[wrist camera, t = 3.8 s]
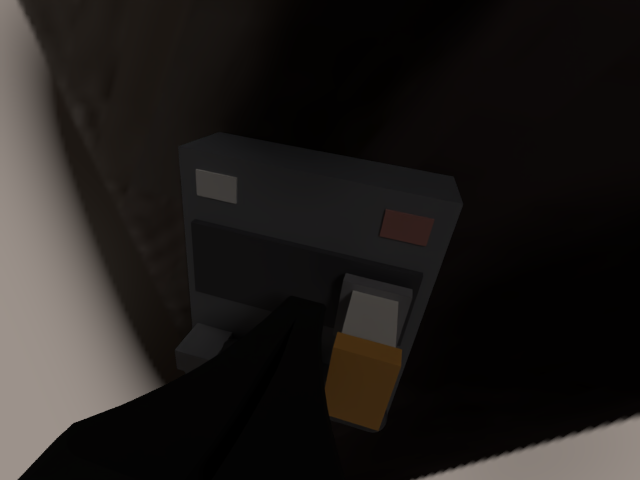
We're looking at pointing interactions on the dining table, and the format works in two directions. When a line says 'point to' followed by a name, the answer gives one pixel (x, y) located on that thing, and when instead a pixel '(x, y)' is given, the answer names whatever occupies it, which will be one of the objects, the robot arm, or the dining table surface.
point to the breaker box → (302, 237)
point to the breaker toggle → (366, 350)
